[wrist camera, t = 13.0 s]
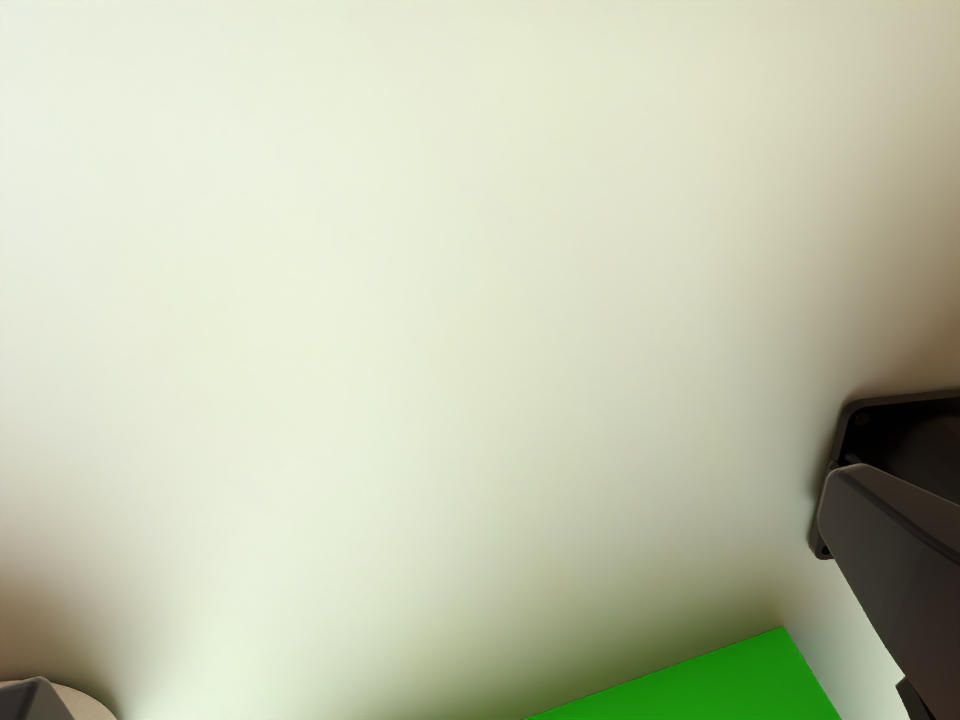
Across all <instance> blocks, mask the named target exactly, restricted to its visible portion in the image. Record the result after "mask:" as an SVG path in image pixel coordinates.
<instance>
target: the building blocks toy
mask: <svg viewBox="0 0 960 720" xmlns="http://www.w3.org/2000/svg"><path fill="white" fill-rule="evenodd" d="M522 720H841V718H840V716H839V715H838V713H837V712H836V710H835V708H834V707H833V705H832V704H831V702H830V700H829V699H828V697H827V695H826V694H825V692H824V691H823V689H822V687H821V686H820V684H819V683H818V681H817V679H816V678H815V676H814V675H813V673H812V671H811V670H810V668H809V666H808V665H807V663H806V662H805V660H804V658H803V657H802V655H801V654H800V652H799V650H798V649H797V647H796V646H795V644H794V642H793V641H792V639H791V638H790V636H789V634H788V633H787V631H786V629H785V628H784V626H782V627H779V628H776V629H773V630H770V631H768V632H765V633H762V634H759V635H756V636H754V637H751V638H748V639H745V640H743V641H740V642H737V643H734V644H731V645H729V646H726V647H723V648H720V649H717V650H715V651H712V652H709V653H706V654H704V655H701V656H698V657H695V658H692V659H690V660H687V661H684V662H681V663H678V664H676V665H673V666H670V667H667V668H665V669H662V670H659V671H656V672H653V673H651V674H648V675H645V676H642V677H639V678H637V679H634V680H631V681H628V682H625V683H623V684H620V685H617V686H614V687H612V688H609V689H606V690H603V691H600V692H598V693H595V694H592V695H589V696H586V697H584V698H581V699H578V700H575V701H573V702H570V703H567V704H564V705H561V706H559V707H556V708H553V709H550V710H547V711H545V712H542V713H539V714H536V715H534V716H531V717H528V718H525V719H522Z"/></svg>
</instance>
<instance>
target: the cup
mask: <svg viewBox="0 0 960 720" xmlns="http://www.w3.org/2000/svg"><path fill="white" fill-rule="evenodd" d="M17 681H21V680H14V681H4V682H0V687H1V686H4V685H6V684H9V683H13V682H17ZM51 684H52V686H53V687H54V688H55V690H56V691H57V693H58V694H59V696H60V697H61V699H62V700H63V702H64V703H65V705H66V706H67V707H68V709H69V710H70V712H71V713H72V715H73V716H74V718H75V720H117V719H116V718H115V716H114V715H113V714H112V713H111V712H110V711H109V710H108V709H107V708H106V707H105V706H104V705H102V704H101V703H100V702H99V701H97V700H95V699H94V698H92V697H90V696H89V695H87V694H85V693H83V692H80V691H78V690H75V689H73V688H70V687H67V686H63V685H59V684H54V683H51Z"/></svg>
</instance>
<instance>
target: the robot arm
mask: <svg viewBox="0 0 960 720" xmlns="http://www.w3.org/2000/svg"><path fill="white" fill-rule="evenodd" d="M860 414H862V415H861V416H860V417H859V418H857V416H859V415H860ZM856 418H857V419H856ZM809 548H810V549H811V551H812V552H813V553H814V555H815V556H816V557H817V558H818V559H820V560H828V559H835V561H836V563H837V564H838V566H839V568H840V570H841V571H842V573H843V575H844V577H845V578H846V580H847V582H848V584H849V585H850V587H851V589H852V591H853V592H854V594H855V596H856V598H857V599H858V601H859V603H860V605H861V606H862V608H863V610H864V612H865V613H866V615H867V617H868V619H869V620H870V622H871V624H872V626H873V627H874V629H875V631H876V632H877V634H878V635H879V637H880V639H881V640H882V642H883V644H884V645H885V647H886V648H887V650H888V651H889V653H890V654H891V656H892V657H893V659H894V660H895V662H896V663H897V665H898V666H899V667H900V669H901V670H902V672H903V673H904V674H905V677H904V678H903V679H902V680H901V681H900V682H899V683H897V684H896V689H897V691H898V693H899V695H900V697H901V699H902V701H903V704H904V706H905V708H906V710H907V712H908V715H909V718H910V720H960V389H956V390H946V391H937V392H927V393H918V394H908V395H899V396H889V397H880V398H870V399H861V400H856V401H853V402H851V403H849V404H848V405H847V406H846V407H845V408H844V409H843V411H842V413H841V416H840V420H839V424H838V428H837V432H836V436H835V440H834V444H833V448H832V452H831V456H830V460H829V464H828V467H827V470H826V474H825V478H824V482H823V487H822V491H821V495H820V499H819V503H818V507H817V511H816V515H815V519H814V525H813V529H812V533H811V537H810V541H809ZM0 720H75V718H74V716H73V715H72V713H71V712H70V710H69V709H68V707H67V706H66V705H65V703H64V702H63V700H62V699H61V697H60V696H59V694H58V693H57V691H56V690H55V688H54V687H53V686H52V684H51V683H50V682H49V681H48V679H46V678H44V677H41V676H39V677H32V678H29V679H25V680H21V681H17V682H13V683H9V684H6V685H4V686H1V687H0Z"/></svg>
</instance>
